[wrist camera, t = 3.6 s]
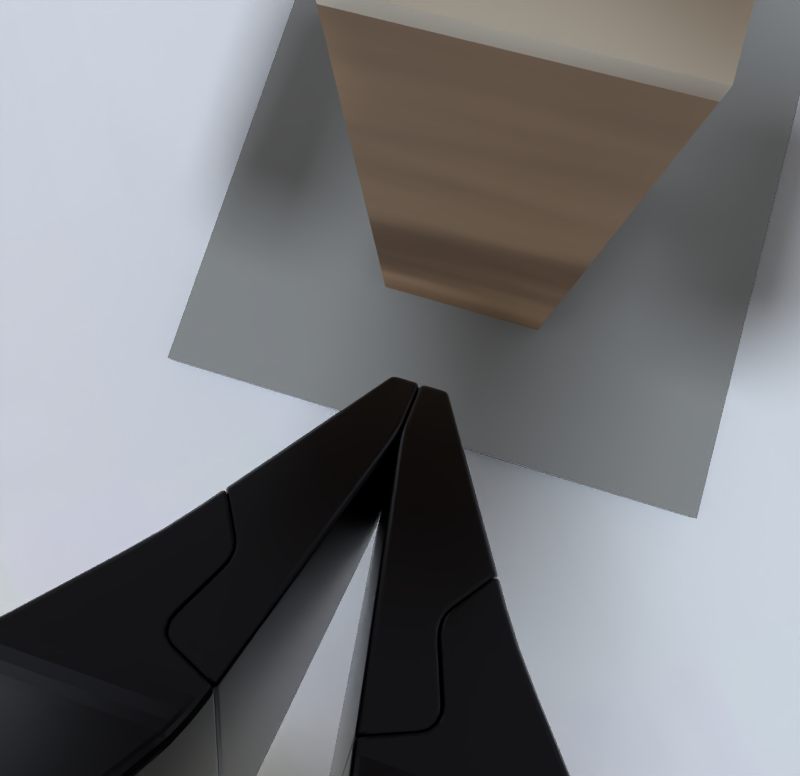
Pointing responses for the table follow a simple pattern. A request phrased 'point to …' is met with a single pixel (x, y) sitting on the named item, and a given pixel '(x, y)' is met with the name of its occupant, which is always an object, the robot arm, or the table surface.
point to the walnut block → (518, 131)
